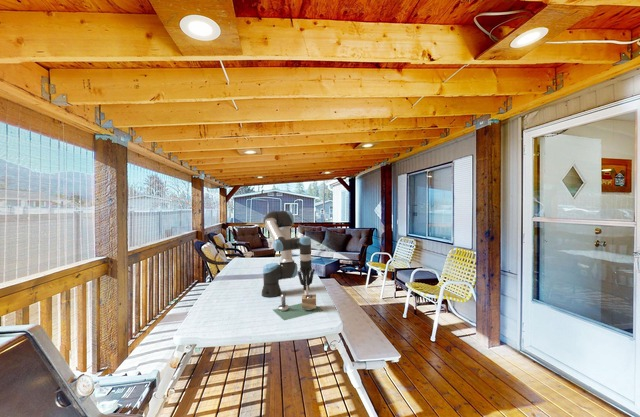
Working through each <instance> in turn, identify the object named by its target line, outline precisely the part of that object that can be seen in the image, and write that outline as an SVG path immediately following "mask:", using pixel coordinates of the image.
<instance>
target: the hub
mask: <svg viewBox="0 0 640 417" xmlns="http://www.w3.org/2000/svg"><path fill="white" fill-rule="evenodd" d="M307 298H311V296H307ZM303 309H304V310H305V311H313V310H315V308H303Z"/></svg>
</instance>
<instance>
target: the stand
mask: <svg viewBox="0 0 640 417" xmlns="http://www.w3.org/2000/svg"><path fill="white" fill-rule="evenodd" d="M280 296H281V298H280V299H281V304H280V305H279V306H278V308H277V309H278V310H279V311H281V312H285V311H288V310H289V306H290V305H288V304H286V294H285V293H281V295H280Z"/></svg>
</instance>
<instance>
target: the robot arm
mask: <svg viewBox="0 0 640 417" xmlns="http://www.w3.org/2000/svg"><path fill="white" fill-rule="evenodd" d="M294 223H295V219H294V214H293V213H292V212H291V210H277V211H270V212H268V213H267V214H265V216H264V217H263V225H264V227H265V228H266V229H267V230H268V232H269V234H270V236H271V237H272V240H273V244H272V245H273V246H272V247H273V250H274V251H275V252H280V255H281V256H280V258H281V260H279V263H277V262H271V263H268V264H265V265H264V266H263V268H262V274H263V279H262V280H263V286H262V288H261V296H262V297H263V298H276V297H279V296H281V295H282V289H281V286H280V281H281V280H287V279H292V278H295V277H297V275H298V279H299V283H300V285H301V286H303V287H302V288H303V291H304V295H309V290H310V286H311V284H313V279H314V274H315V272H316V269H315V268H313V267H312V240H311V237H310V236H301V237H295V238H291V236H292V235H291V228H292V227H293V225H294ZM296 250H299V261H300V262H299V265H300V268H299V270H298V264H297V263H296V262H295V259H293V251H296ZM279 280H280V281H279Z"/></svg>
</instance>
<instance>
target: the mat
mask: <svg viewBox="0 0 640 417" xmlns="http://www.w3.org/2000/svg"><path fill="white" fill-rule="evenodd" d="M288 306H289V310H288V311H285V312H281V311H279V310H278V308H274V309H272V311H273V312H274V313H275V314H276V315H278V317H280V318H281V319H282V321H287V320H292V319H296V318H299V317H304V316H308V315H312V314H316V313H320V312H323V311H324V309H322V308H321V307H319V306H318V305H316V308H315V310H313V311H305V310H304V309H303V308H302V302H301V303H296V304H292V305H288Z"/></svg>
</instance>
